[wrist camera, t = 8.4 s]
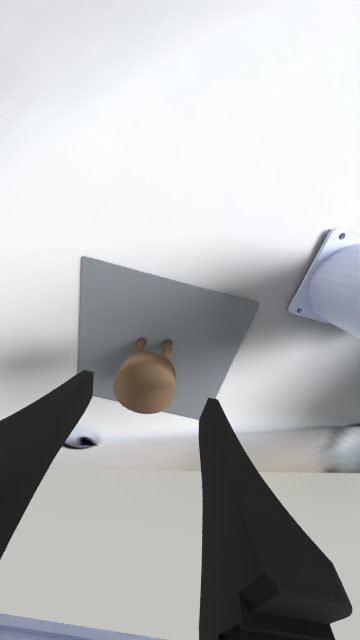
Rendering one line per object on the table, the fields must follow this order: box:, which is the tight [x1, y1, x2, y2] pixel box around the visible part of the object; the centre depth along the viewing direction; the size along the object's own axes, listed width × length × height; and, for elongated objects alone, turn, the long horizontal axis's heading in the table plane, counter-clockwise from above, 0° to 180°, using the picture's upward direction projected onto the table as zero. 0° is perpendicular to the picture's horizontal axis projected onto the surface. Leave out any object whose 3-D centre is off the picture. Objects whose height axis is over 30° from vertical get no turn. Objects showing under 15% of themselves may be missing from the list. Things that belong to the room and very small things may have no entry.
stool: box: [113, 337, 176, 414], centre depth 18 cm, size 5×5×6 cm
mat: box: [78, 256, 259, 420], centre depth 21 cm, size 18×18×1 cm
